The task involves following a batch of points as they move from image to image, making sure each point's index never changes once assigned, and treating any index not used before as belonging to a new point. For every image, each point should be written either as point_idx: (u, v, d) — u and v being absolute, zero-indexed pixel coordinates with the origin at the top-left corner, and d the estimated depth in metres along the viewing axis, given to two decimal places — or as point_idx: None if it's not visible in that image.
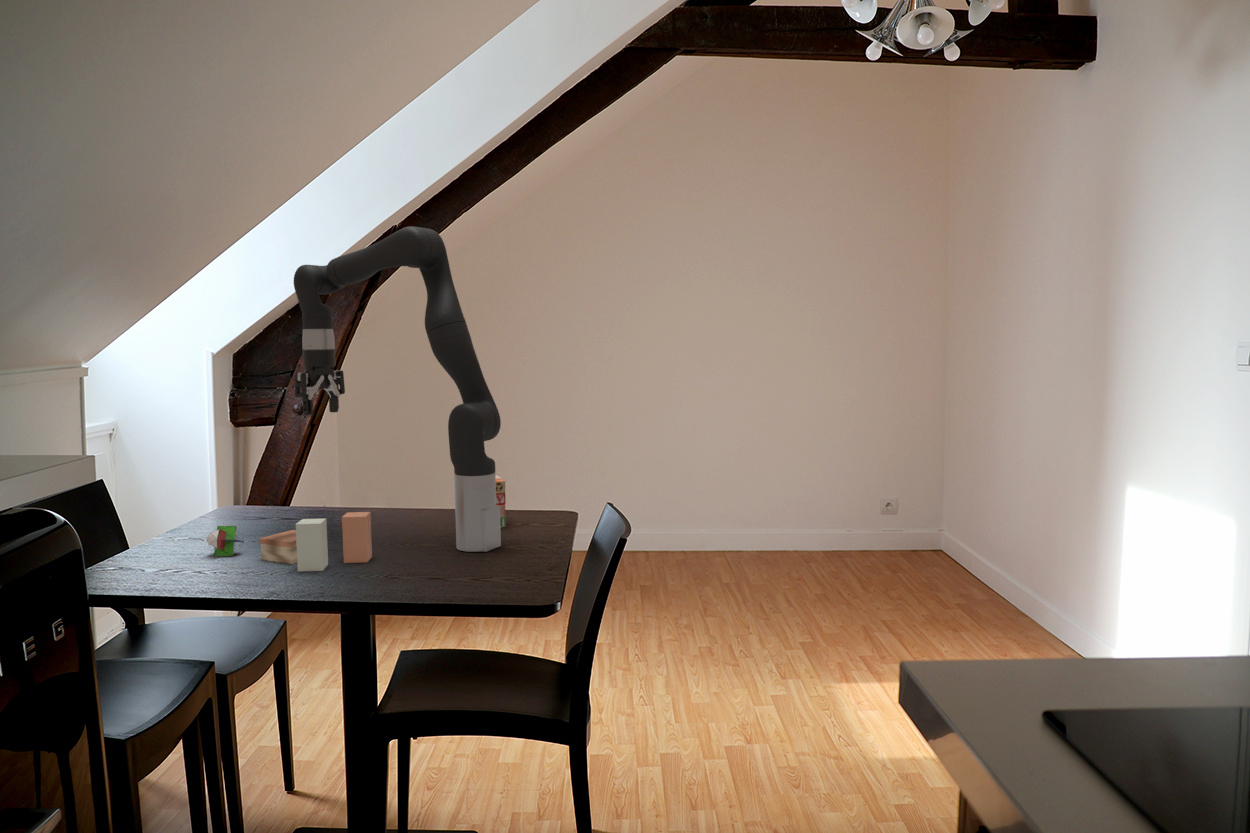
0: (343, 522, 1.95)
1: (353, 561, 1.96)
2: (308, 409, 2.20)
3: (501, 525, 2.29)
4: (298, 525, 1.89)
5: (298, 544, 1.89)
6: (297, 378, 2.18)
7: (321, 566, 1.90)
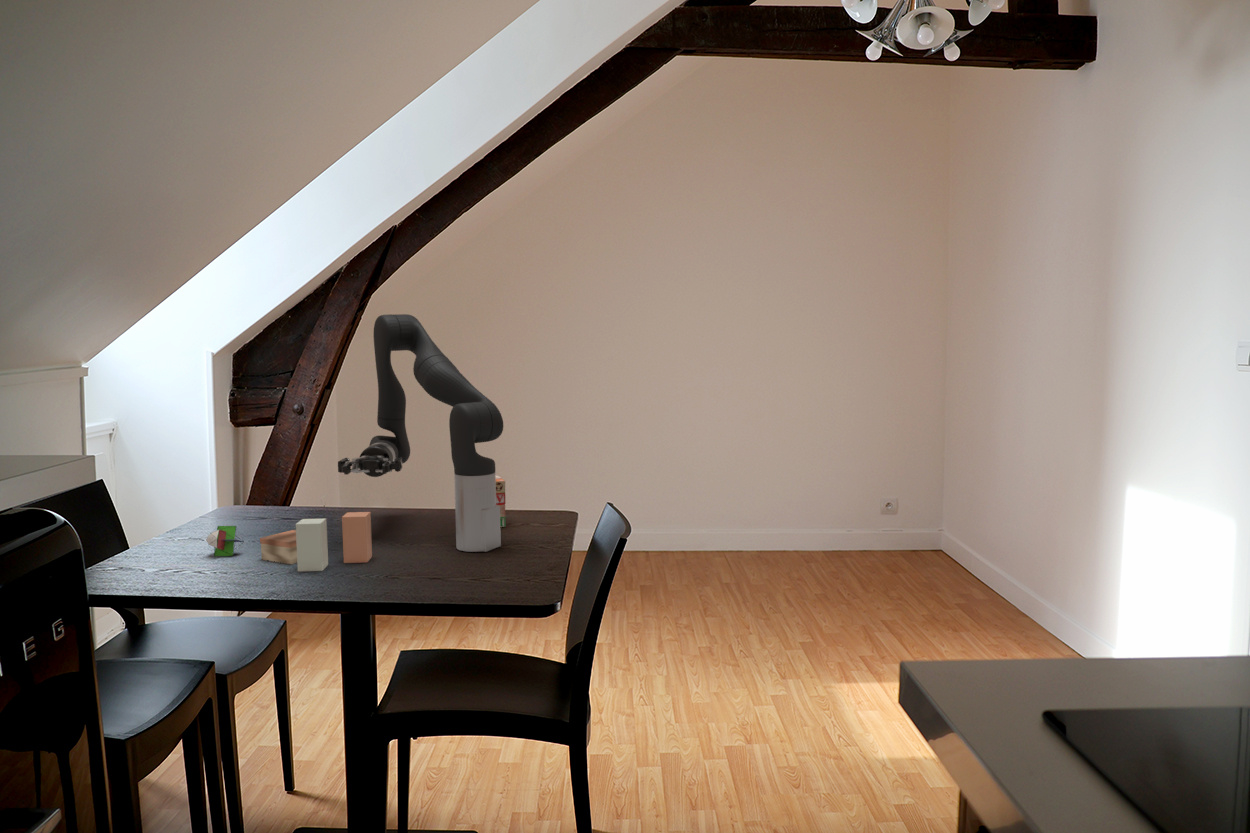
0: (343, 522, 1.95)
1: (353, 561, 1.96)
2: (343, 466, 2.09)
3: (501, 525, 2.29)
4: (298, 525, 1.89)
5: (298, 544, 1.89)
6: None
7: (321, 566, 1.90)
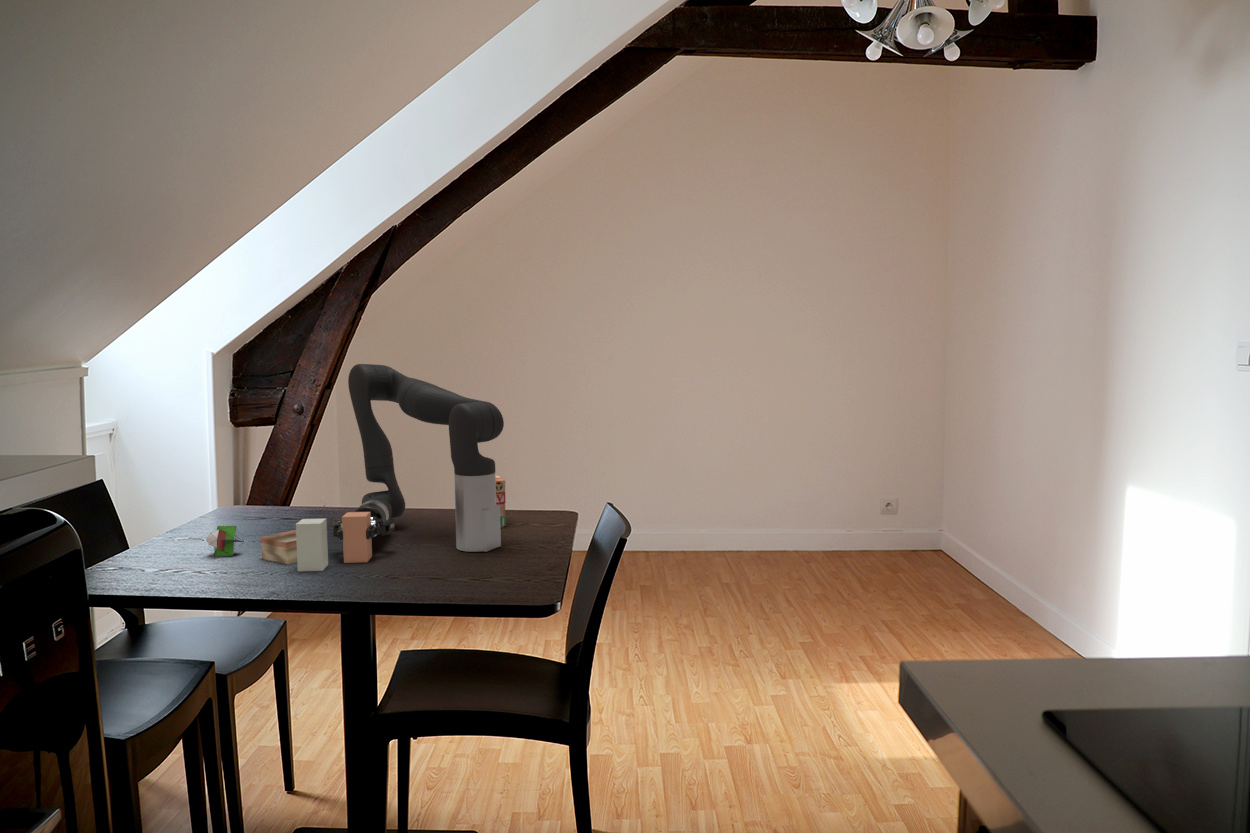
0: (343, 522, 1.95)
1: (353, 561, 1.96)
2: (339, 530, 1.97)
3: (501, 524, 2.30)
4: (298, 525, 1.89)
5: (298, 544, 1.89)
6: None
7: (321, 566, 1.90)
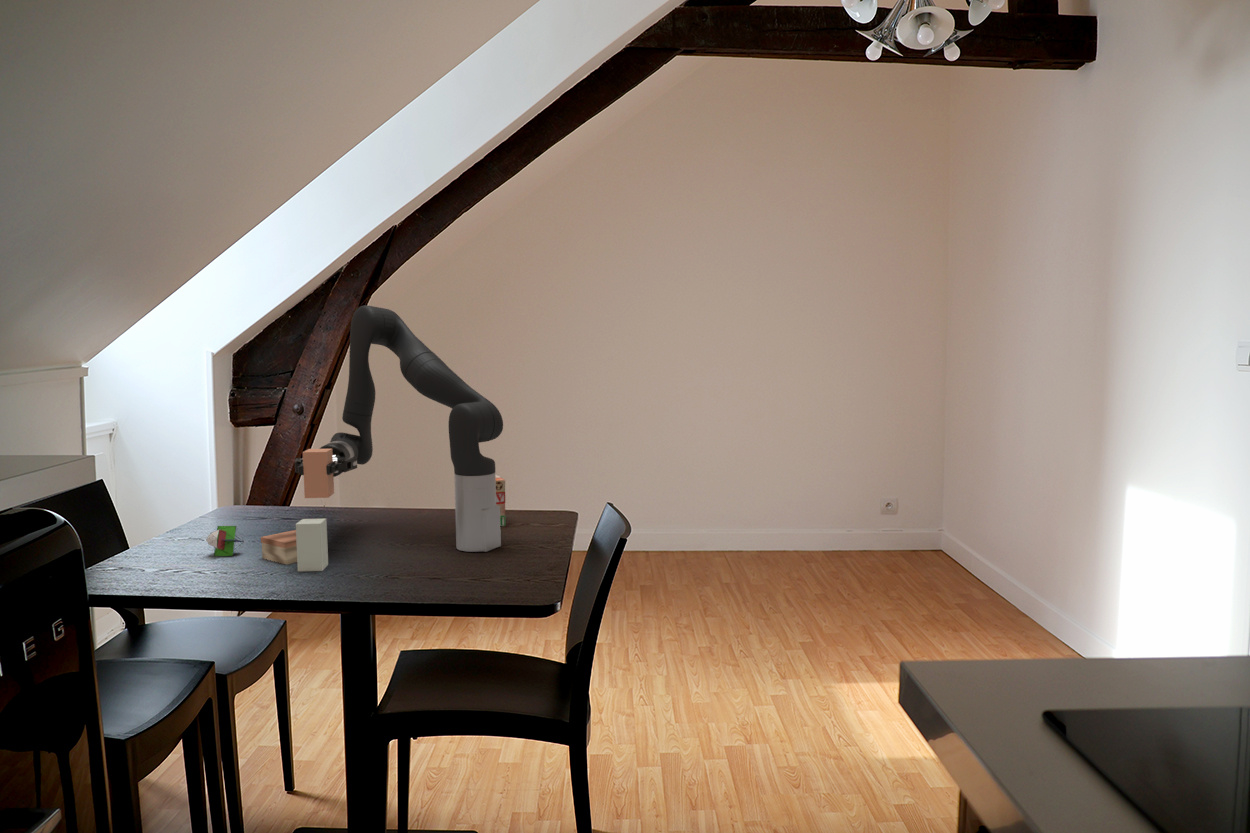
0: (304, 457, 1.96)
1: (314, 496, 1.97)
2: (300, 466, 1.97)
3: (501, 524, 2.30)
4: (298, 525, 1.89)
5: (298, 544, 1.89)
6: None
7: (321, 566, 1.90)
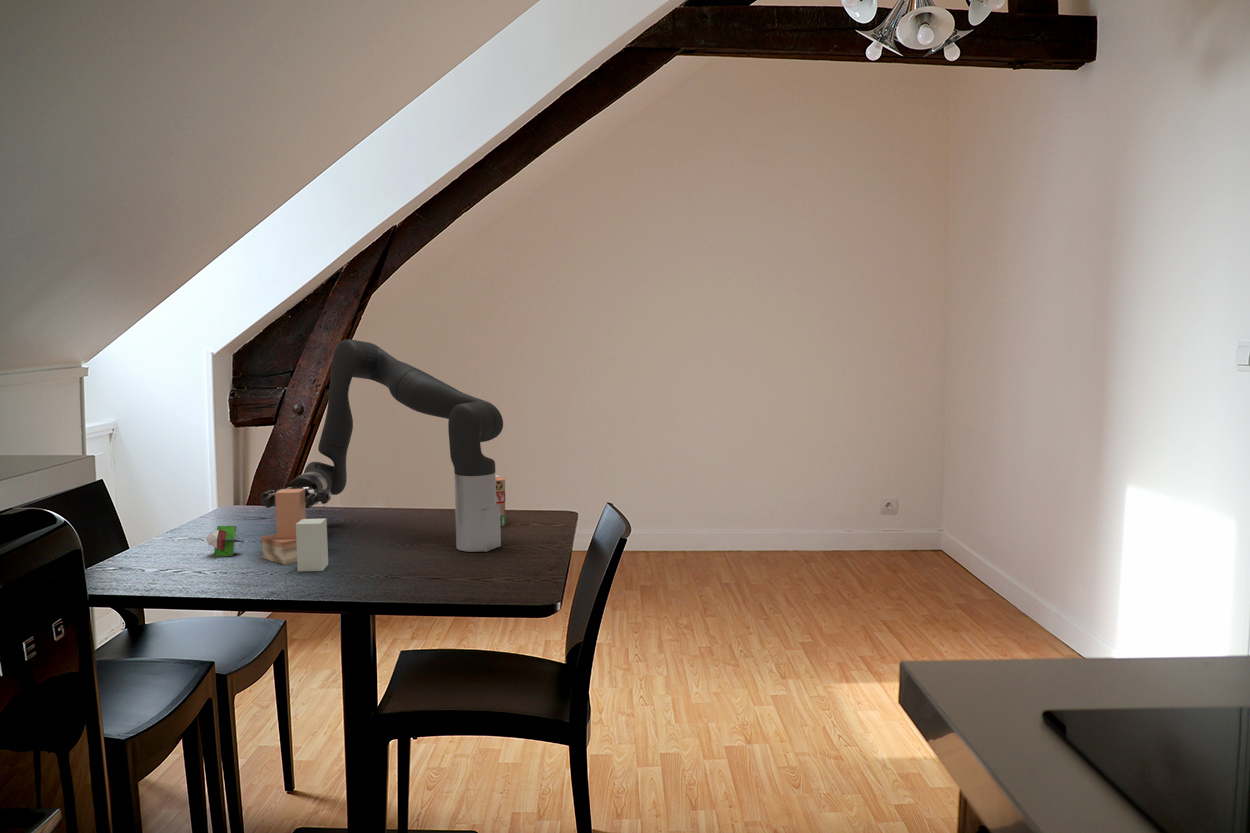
0: (276, 498, 1.98)
1: (286, 537, 1.99)
2: (266, 499, 2.00)
3: (501, 523, 2.31)
4: (298, 525, 1.89)
5: (298, 544, 1.89)
6: None
7: (321, 566, 1.90)
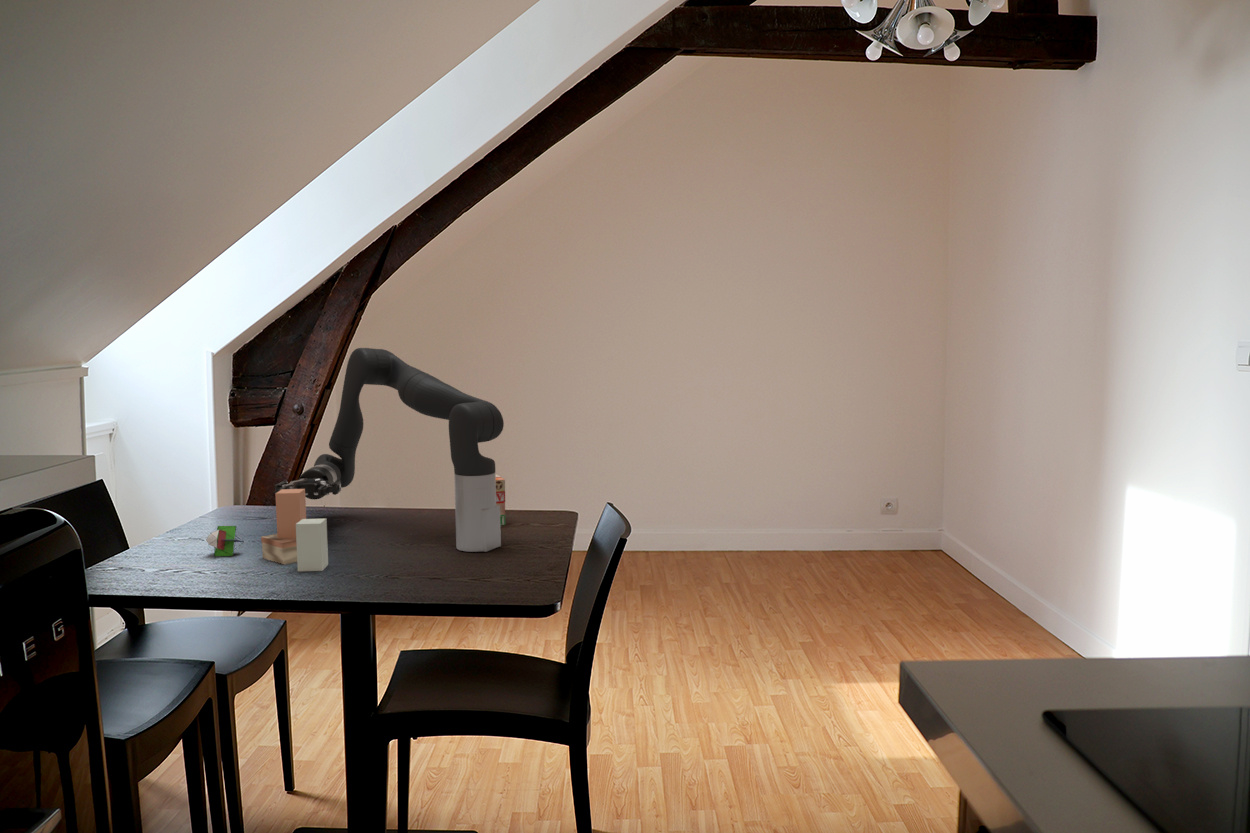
0: (277, 498, 1.98)
1: (287, 537, 1.99)
2: (280, 489, 2.10)
3: (501, 523, 2.31)
4: (298, 525, 1.89)
5: (298, 544, 1.89)
6: None
7: (321, 566, 1.90)
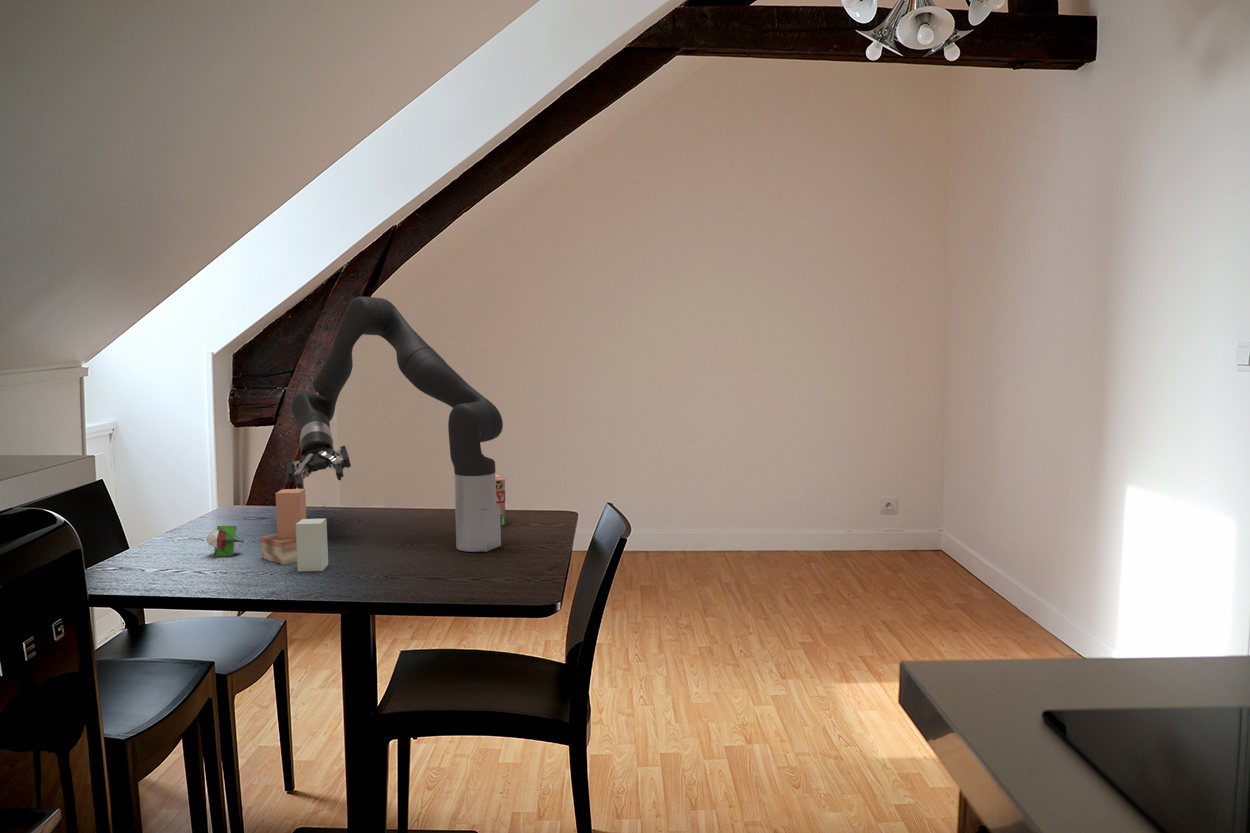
0: (277, 498, 1.98)
1: (287, 537, 1.99)
2: (297, 482, 2.10)
3: (501, 523, 2.31)
4: (298, 525, 1.89)
5: (298, 544, 1.89)
6: None
7: (321, 566, 1.90)
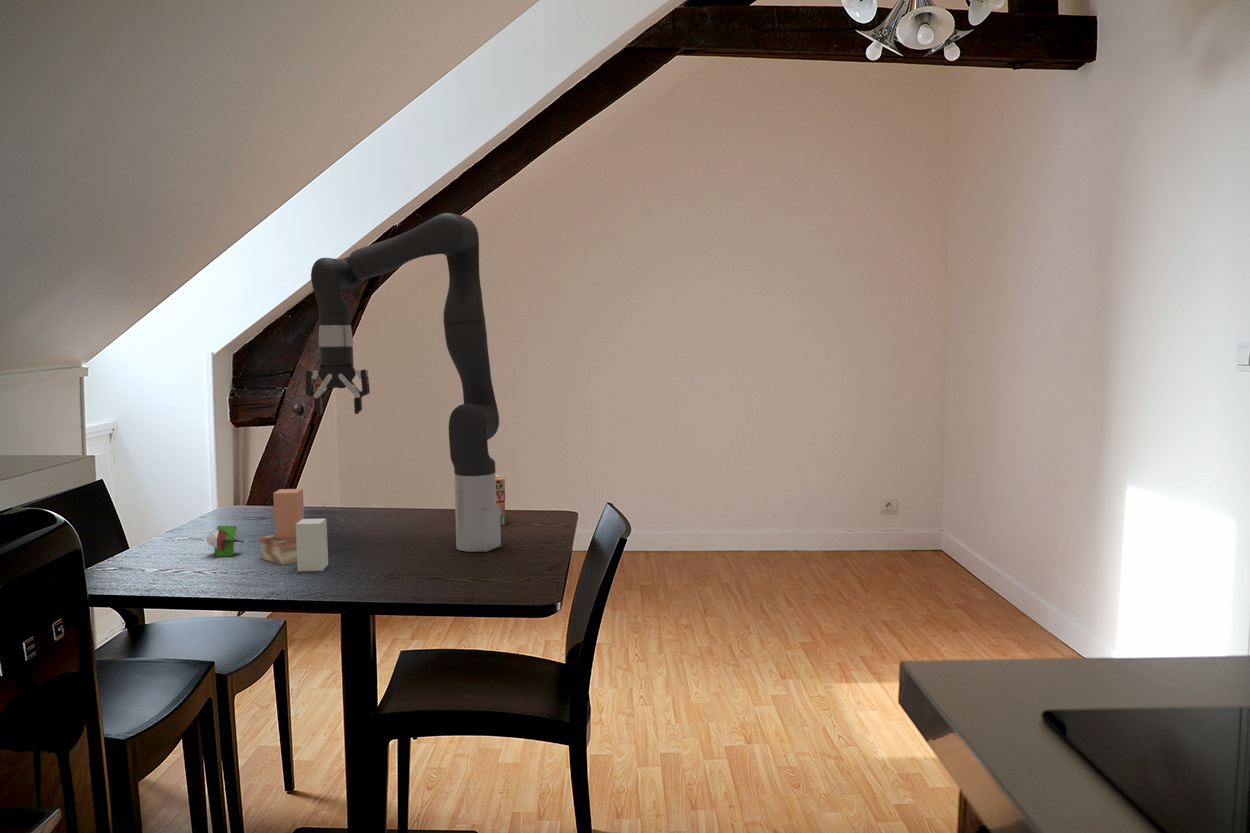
0: (274, 498, 1.98)
1: (285, 537, 1.99)
2: (316, 408, 2.14)
3: (501, 522, 2.32)
4: (298, 525, 1.89)
5: (298, 544, 1.89)
6: None
7: (321, 566, 1.90)
